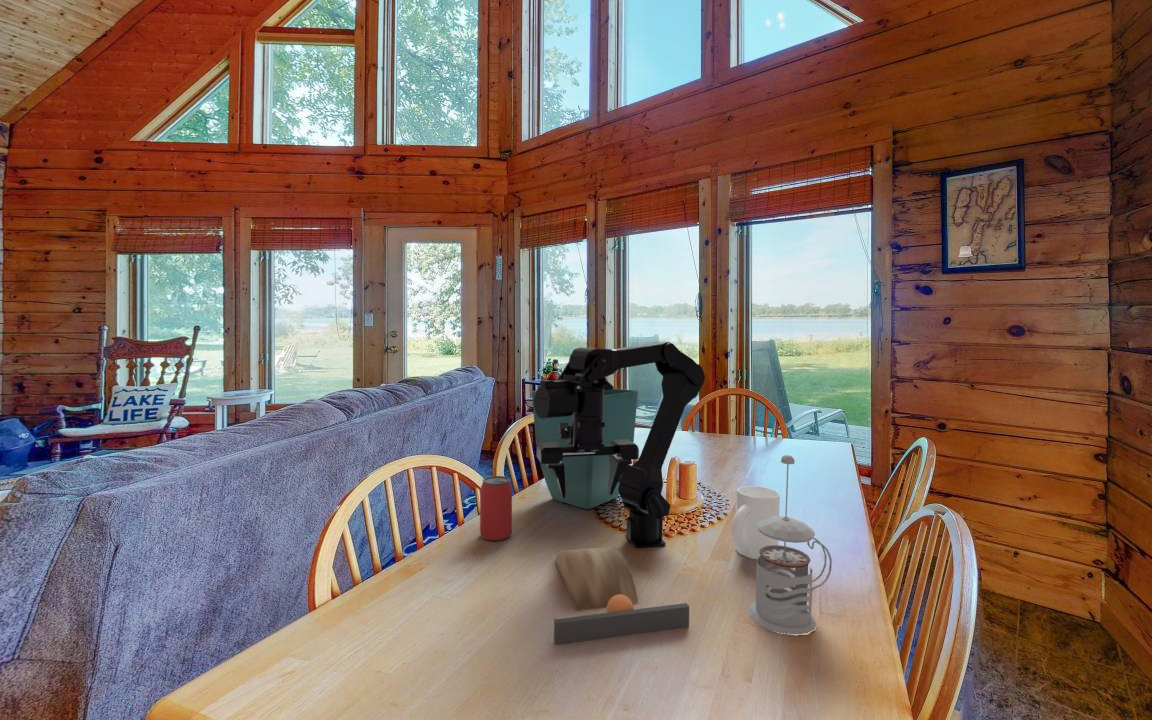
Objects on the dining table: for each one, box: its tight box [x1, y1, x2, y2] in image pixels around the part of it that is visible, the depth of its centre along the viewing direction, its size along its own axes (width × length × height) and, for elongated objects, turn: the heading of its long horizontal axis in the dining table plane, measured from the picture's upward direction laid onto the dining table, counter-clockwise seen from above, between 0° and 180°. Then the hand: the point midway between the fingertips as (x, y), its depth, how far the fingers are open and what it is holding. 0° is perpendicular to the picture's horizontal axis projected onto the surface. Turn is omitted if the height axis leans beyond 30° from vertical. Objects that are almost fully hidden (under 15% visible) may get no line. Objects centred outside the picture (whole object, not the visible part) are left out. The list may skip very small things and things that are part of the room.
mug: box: [731, 485, 781, 561], centre depth 98 cm, size 8×12×12 cm
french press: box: [748, 454, 833, 634], centre depth 76 cm, size 10×12×25 cm
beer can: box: [479, 475, 513, 542], centre depth 105 cm, size 7×7×12 cm
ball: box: [606, 594, 635, 613], centre depth 74 cm, size 4×4×4 cm
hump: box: [554, 546, 639, 612], centre depth 87 cm, size 10×22×22 cm, turn 14°
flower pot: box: [531, 386, 639, 510], centre depth 129 cm, size 20×20×28 cm
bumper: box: [553, 602, 690, 645], centre depth 72 cm, size 20×1×3 cm, turn 104°
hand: (587, 495), depth 95 cm, fingers open, 9 cm apart
